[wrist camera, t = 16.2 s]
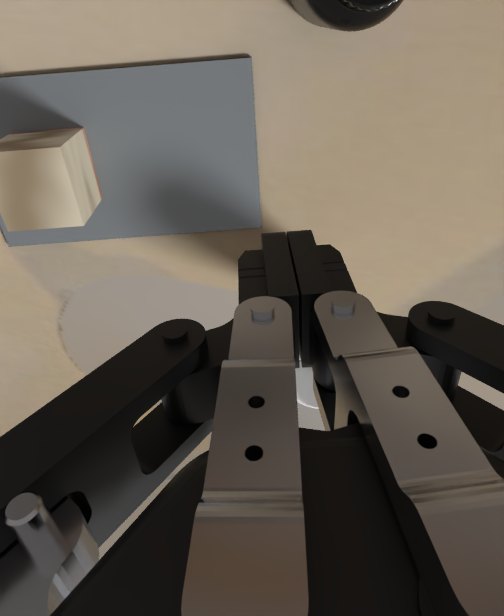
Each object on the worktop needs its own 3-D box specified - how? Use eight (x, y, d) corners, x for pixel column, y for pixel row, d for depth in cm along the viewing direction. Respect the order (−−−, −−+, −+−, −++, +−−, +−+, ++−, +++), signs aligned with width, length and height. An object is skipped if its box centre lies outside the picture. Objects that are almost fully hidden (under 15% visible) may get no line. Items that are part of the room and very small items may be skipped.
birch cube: (-25, 153, 31) (10, 133, 36) (7, 231, 35) (36, 203, 40) (59, 147, 31) (83, 127, 36) (84, 226, 35) (102, 198, 40)
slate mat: (251, 57, 34) (251, 57, 34) (261, 225, 42) (261, 227, 42) (-58, 82, 34) (-61, 82, 34) (10, 244, 42) (8, 246, 42)
